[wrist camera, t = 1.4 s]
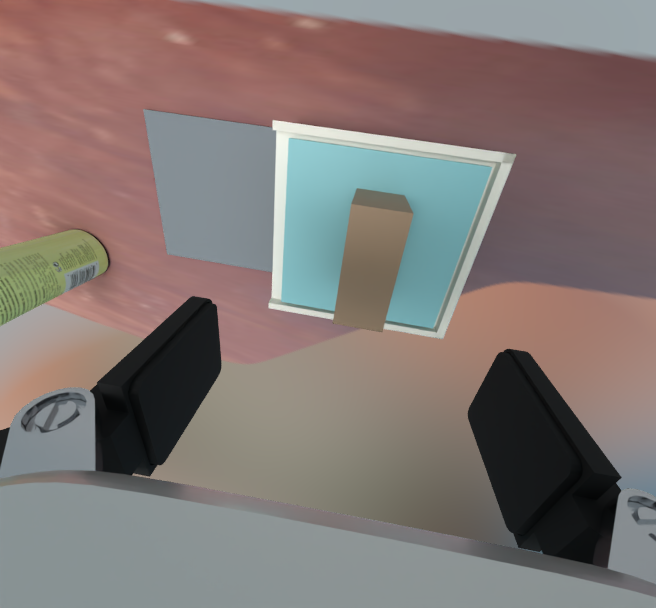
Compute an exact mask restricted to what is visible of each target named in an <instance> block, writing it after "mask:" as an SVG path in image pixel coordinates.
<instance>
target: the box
mask: <svg viewBox="0 0 656 608" xmlns="http://www.w3.org/2000/svg"><path fill="white" fill-rule="evenodd" d="M273 130H276V164H275V200H274V236H273V272H272V298H271V300H270V302H269V308H271V309H277V310H283V311H288V312H294V313H299V314H305V315H311V316H316V317H322V318H327V319H333V318H334V312H335V311H331V310H325V309H320V308H314V307H308V306H303V305H297V304H292V303H286V302H281V293H282V271H283V250H284V228H285V207H286V185H287V164H288V142H289V138H296V139H303V140H310V141H316V142H323V143H330V144H337V145H344V146H351V147H358V148H365V149H372V150H379V151H386V152H393V153H400V154H407V155H414V156H421V157H428V158H435V159H442V160H449V161H456V162H463V163H470V164H477V165H484V166H489V167H492V170H491V173H490V176H489V178H488V181H487V184H486V186H485V189H484V192H483V195H482V197H481V200H480V203H479V205H478V208H477V211H476V213H475V216H474V219H473V222H472V224H471V227H470V230H469V232H468V235H467V238H466V241H465V243H464V246H463V249H462V251H461V254H460V257H459V260H458V262H457V265H456V268H455V270H454V273H453V276H452V279H451V281H450V284H449V287H448V289H447V292H446V295H445V297H444V300H443V303H442V306H441V308H440V311H439V314H438V316H437V319H436V322H435V325H434V327H433V328H427V327H421V326H416V325H410V324H404V323H399V322H393V321H387V320H385V324H384V328H383V329H389V330H394V331H401V332H405V333H411V334H417V335H422V336H428V337H433V338H439V339H443V337H444V335H445V332H446V330H447V327H448V325H449V322H450V320H451V317H452V315H453V312H454V310H455V307H456V305H457V302H458V300H459V297H460V295H461V292H462V290H463V287H464V285H465V282H466V280H467V277H468V275H469V272H470V270H471V267H472V265H473V262H474V260H475V257H476V255H477V252H478V250H479V247H480V245H481V242H482V240H483V237H484V235H485V232H486V230H487V227H488V225H489V222H490V220H491V217H492V214H493V212H494V209H495V207H496V204H497V202H498V199H499V197H500V194H501V192H502V189H503V187H504V184H505V182H506V179H507V177H508V174H509V172H510V169H511V167H512V164H513V162H514V159H515V157H516V154H510V153H503V152H496V151H489V150H482V149H475V148H467V147H460V146H453V145H446V144H439V143H432V142H425V141H418V140H410V139H403V138H396V137H389V136H382V135H375V134H368V133H361V132H353V131H346V130H339V129H332V128H325V127H318V126H311V125H304V124H296V123H289V122H282V121H275V120H273Z"/></svg>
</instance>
